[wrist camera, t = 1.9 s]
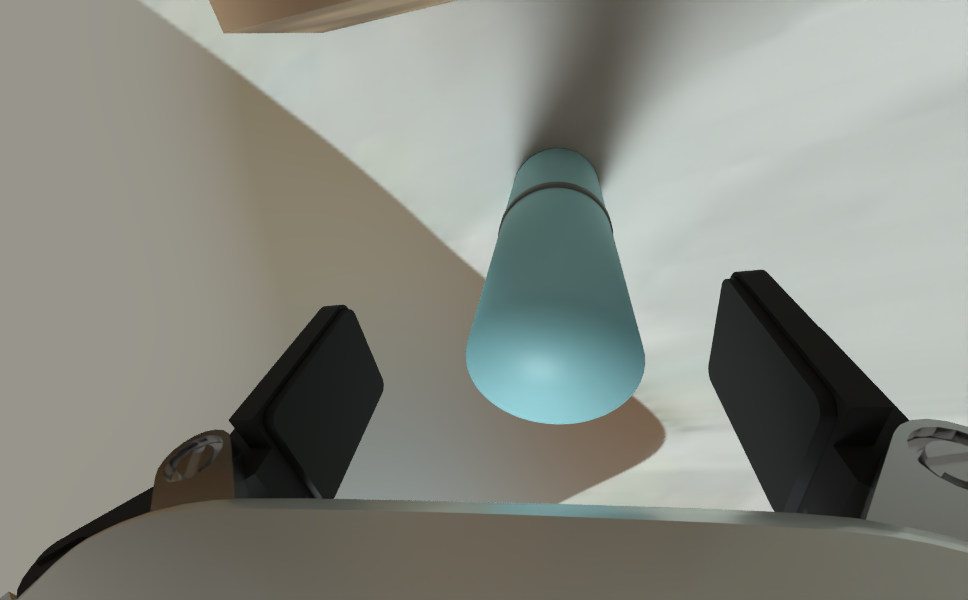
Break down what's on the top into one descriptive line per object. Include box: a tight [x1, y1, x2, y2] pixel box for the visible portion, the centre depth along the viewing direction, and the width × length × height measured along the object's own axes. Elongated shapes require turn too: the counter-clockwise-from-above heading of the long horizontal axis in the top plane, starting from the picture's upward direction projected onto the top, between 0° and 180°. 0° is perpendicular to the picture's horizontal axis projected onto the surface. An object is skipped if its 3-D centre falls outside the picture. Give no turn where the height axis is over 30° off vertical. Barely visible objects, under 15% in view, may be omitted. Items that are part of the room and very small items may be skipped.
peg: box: [466, 148, 645, 424], centre depth 14 cm, size 4×4×12 cm
